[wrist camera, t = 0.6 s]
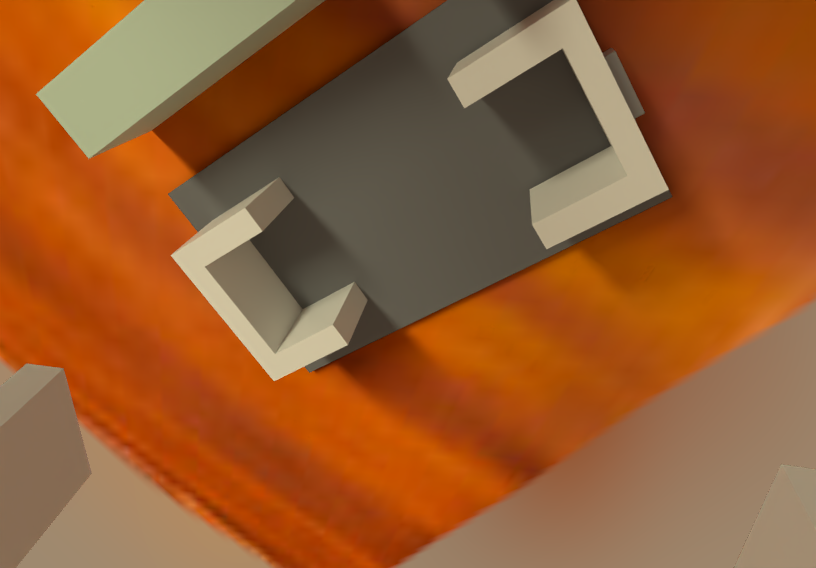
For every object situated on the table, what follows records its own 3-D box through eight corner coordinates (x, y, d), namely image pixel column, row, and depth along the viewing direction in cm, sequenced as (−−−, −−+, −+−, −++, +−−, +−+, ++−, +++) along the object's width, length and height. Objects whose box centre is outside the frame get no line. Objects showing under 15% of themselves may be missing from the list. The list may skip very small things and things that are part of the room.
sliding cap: (456, 62, 30) (447, 78, 26) (577, -16, 28) (589, -13, 23) (542, 211, 33) (546, 249, 28) (658, 151, 30) (682, 182, 26)
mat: (171, 191, 36) (167, 194, 36) (543, -67, 27) (544, -67, 27) (311, 368, 40) (309, 372, 40) (670, 194, 32) (672, 196, 31)
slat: (110, 74, 34) (36, 94, 28) (309, -90, 29) (263, -103, 23) (153, 129, 35) (88, 158, 29) (352, -20, 30) (317, -17, 24)
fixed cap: (212, 220, 36) (170, 255, 32) (279, 177, 34) (245, 207, 30) (301, 334, 39) (274, 381, 34) (367, 300, 37) (348, 344, 33)
